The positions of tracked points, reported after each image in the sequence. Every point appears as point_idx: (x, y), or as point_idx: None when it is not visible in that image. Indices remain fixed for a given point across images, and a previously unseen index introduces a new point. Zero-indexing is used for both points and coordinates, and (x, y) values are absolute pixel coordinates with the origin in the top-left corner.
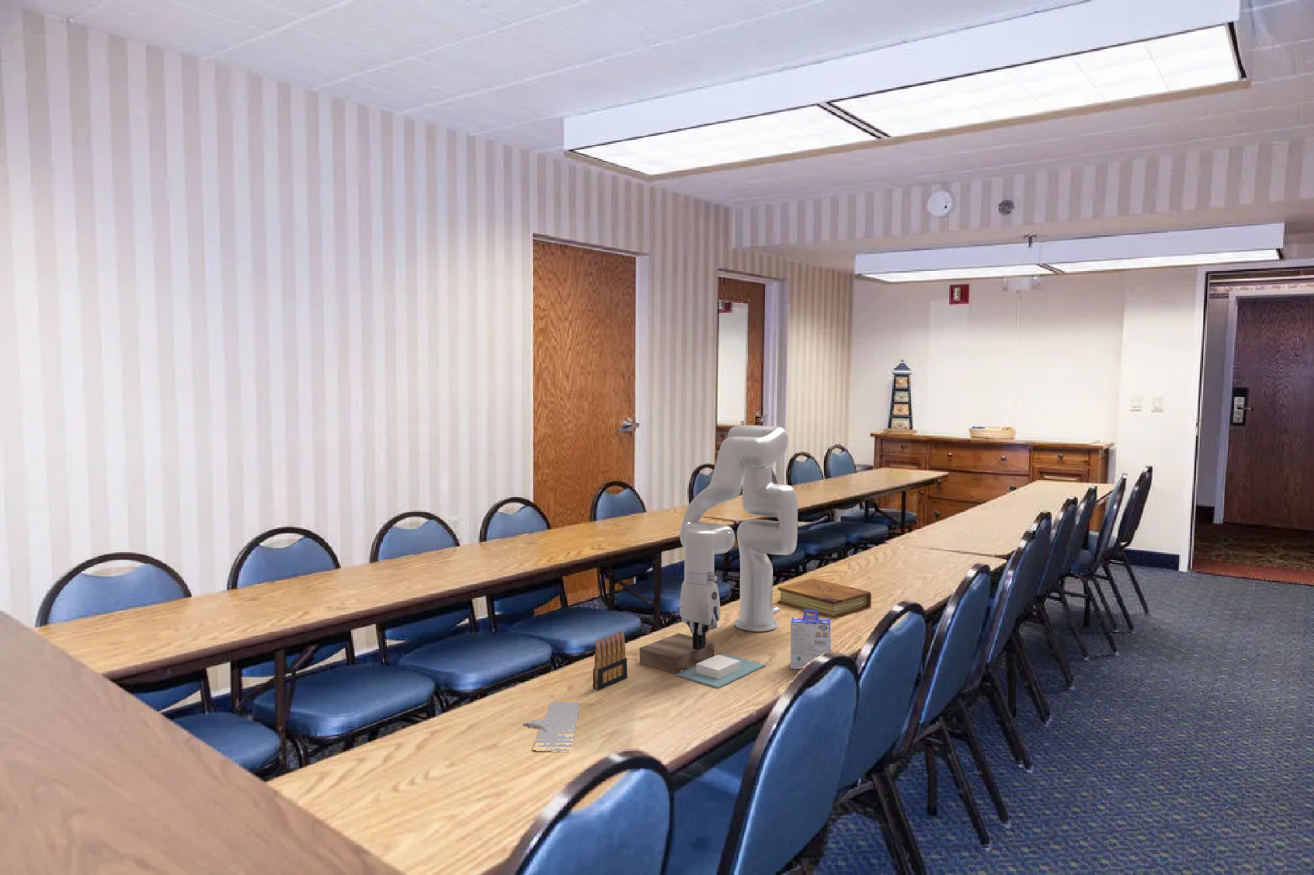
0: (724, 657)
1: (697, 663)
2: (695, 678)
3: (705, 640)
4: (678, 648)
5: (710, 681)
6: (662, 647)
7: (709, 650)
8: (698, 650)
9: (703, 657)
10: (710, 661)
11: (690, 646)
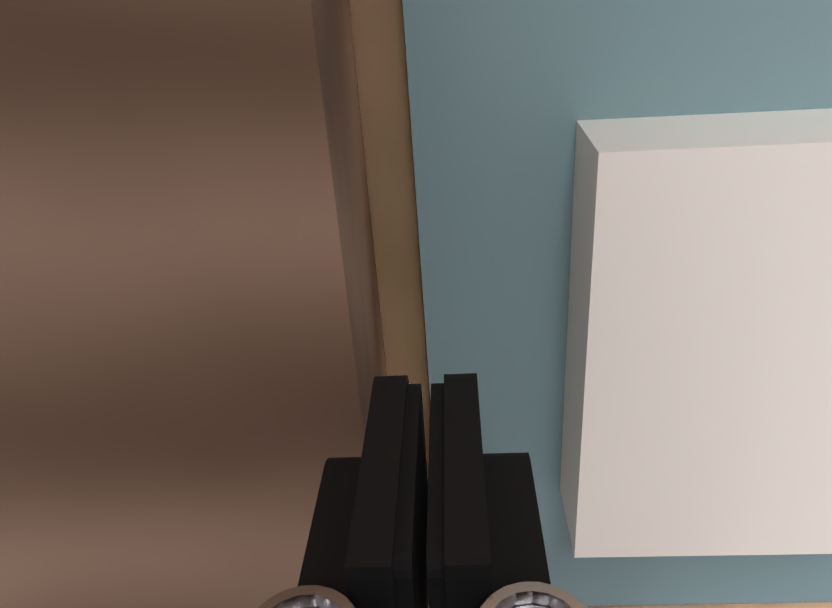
0: (753, 187)
1: (579, 543)
2: (649, 584)
3: (536, 503)
4: (162, 511)
5: (810, 559)
6: (12, 592)
7: (333, 48)
8: (359, 347)
9: (360, 184)
10: (669, 419)
11: (200, 366)
